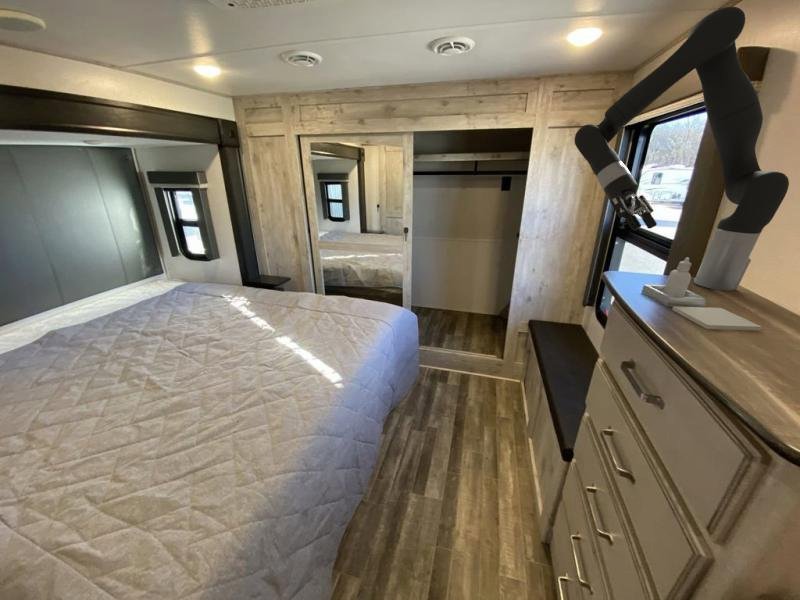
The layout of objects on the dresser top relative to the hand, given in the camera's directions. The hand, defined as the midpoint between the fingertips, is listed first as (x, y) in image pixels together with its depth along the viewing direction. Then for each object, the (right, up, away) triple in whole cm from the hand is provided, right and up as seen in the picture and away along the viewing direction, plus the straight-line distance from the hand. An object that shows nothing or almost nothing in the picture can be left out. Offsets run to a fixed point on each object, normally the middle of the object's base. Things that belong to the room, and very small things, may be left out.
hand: (645, 227), depth 89 cm
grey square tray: (+5, -20, -2) cm, 21 cm away
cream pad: (+6, -25, -13) cm, 29 cm away
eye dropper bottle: (+5, -21, -2) cm, 21 cm away
